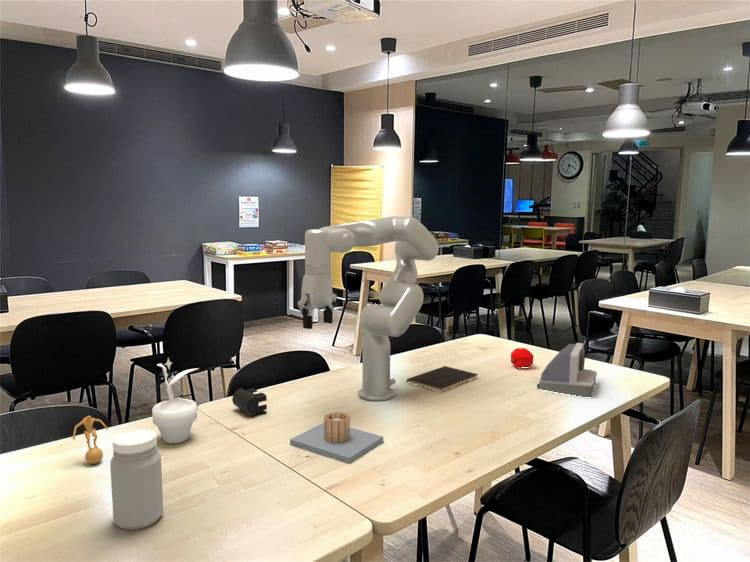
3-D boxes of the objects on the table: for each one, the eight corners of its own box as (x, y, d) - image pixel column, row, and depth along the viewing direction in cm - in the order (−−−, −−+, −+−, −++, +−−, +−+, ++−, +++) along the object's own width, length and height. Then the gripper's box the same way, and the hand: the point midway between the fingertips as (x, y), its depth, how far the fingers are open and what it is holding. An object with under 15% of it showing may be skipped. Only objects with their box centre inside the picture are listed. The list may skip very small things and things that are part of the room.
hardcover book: (477, 379, 213) (477, 374, 212) (440, 394, 196) (441, 387, 196) (443, 371, 224) (443, 365, 223) (406, 384, 207) (406, 378, 207)
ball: (508, 365, 231) (509, 347, 230) (527, 364, 232) (528, 346, 231) (515, 370, 223) (516, 352, 222) (534, 370, 224) (535, 351, 223)
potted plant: (154, 451, 148) (150, 359, 145) (153, 435, 158) (148, 349, 155) (204, 443, 153) (201, 354, 150) (199, 428, 163) (196, 344, 160)
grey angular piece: (588, 401, 189) (591, 358, 187) (529, 389, 201) (531, 348, 199) (604, 385, 206) (606, 345, 204) (548, 375, 218) (550, 337, 216)
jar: (102, 526, 113) (96, 441, 111) (138, 502, 122) (134, 424, 120) (139, 536, 110) (135, 449, 107) (174, 511, 119) (170, 431, 117)
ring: (334, 430, 158) (334, 410, 158) (354, 436, 155) (354, 415, 154) (319, 439, 153) (318, 418, 152) (339, 445, 149) (339, 423, 148)
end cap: (232, 410, 178) (231, 390, 177) (252, 405, 183) (251, 385, 182) (247, 419, 171) (246, 398, 170) (267, 414, 175) (267, 393, 174)
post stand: (326, 425, 166) (326, 404, 165) (383, 441, 155) (383, 419, 154) (290, 444, 153) (289, 421, 152) (349, 463, 142) (349, 439, 141)
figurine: (80, 471, 137) (76, 424, 135) (71, 463, 141) (67, 417, 139) (114, 460, 143) (112, 415, 141) (105, 453, 147) (102, 409, 145)
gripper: (325, 266, 178) (326, 319, 181) (288, 272, 164) (289, 329, 166) (344, 268, 174) (344, 322, 177) (308, 273, 160) (309, 332, 162)
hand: (318, 325), depth 171 cm, fingers open, 9 cm apart
